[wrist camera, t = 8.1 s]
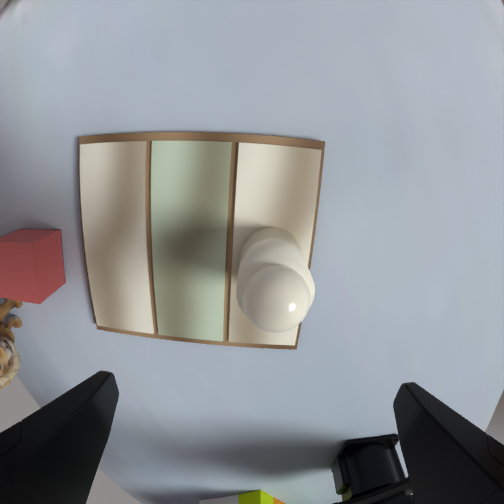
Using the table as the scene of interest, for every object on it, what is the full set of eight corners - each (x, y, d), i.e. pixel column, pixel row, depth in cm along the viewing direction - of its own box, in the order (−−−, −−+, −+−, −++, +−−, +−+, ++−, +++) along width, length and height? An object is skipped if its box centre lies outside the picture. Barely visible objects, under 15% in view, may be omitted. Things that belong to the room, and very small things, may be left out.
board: (322, 141, 17) (325, 141, 16) (295, 344, 22) (296, 350, 21) (83, 136, 17) (77, 136, 16) (100, 325, 22) (96, 330, 21)
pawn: (304, 229, 18) (330, 278, 12) (297, 284, 19) (314, 352, 13) (242, 224, 18) (235, 272, 12) (239, 281, 19) (231, 349, 13)
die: (31, 243, 15) (-13, 241, 15) (40, 308, 16) (-3, 301, 16) (63, 228, 19) (20, 227, 19) (68, 285, 20) (26, 280, 20)
